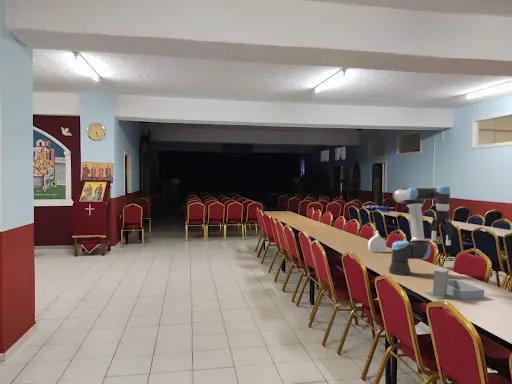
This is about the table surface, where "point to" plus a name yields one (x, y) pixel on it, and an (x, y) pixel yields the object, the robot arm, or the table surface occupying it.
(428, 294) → the pad
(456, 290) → the parts bin
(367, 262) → the table surface
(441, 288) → the skincare box
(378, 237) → the soap bottle
